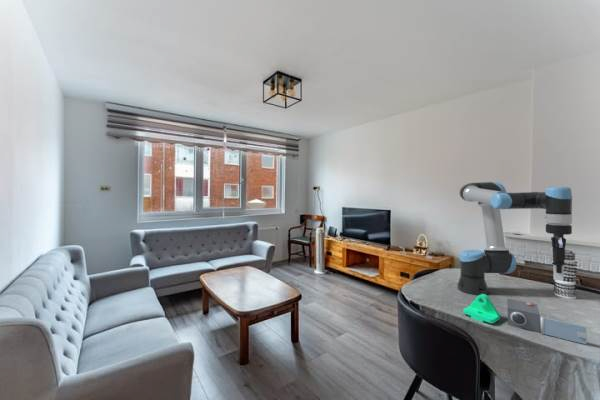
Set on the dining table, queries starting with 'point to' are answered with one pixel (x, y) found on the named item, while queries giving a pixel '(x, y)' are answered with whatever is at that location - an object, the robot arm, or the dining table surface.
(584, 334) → the side door
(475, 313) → the camera mount
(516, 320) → the housing
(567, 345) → the dining table surface
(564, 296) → the decorative candle
